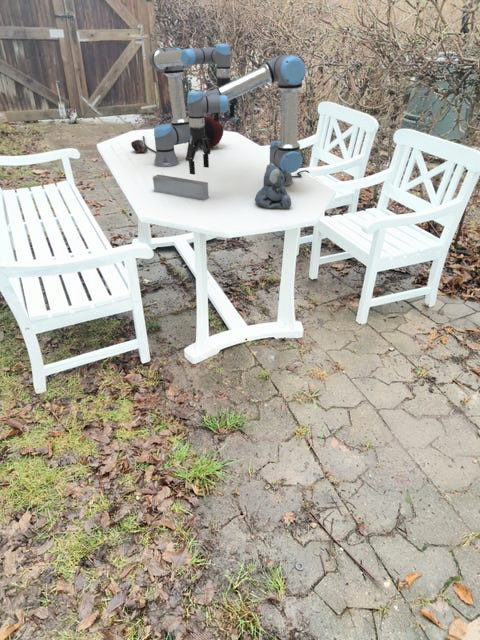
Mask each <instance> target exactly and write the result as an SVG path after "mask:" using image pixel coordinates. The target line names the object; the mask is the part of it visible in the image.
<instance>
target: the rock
mask: <svg viewBox="0 0 480 640" xmlns="http://www.w3.org/2000/svg"><path fill="white" fill-rule="evenodd" d="M130 146H131V148H132V149H133V150H134V152H135V153H146V152H148V150H149V149H148V148H147V147H146V146H145V145H144V142H143V139H134V140H133V141H131V143H130Z"/></svg>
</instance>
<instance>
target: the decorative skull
mask: <svg viewBox="0 0 480 640" xmlns="http://www.w3.org/2000/svg"><path fill="white" fill-rule="evenodd" d="M204 121H205V122H204V123H205V126H203V127H205V135H207V140H208V143H209V146H210V149H212V148H215V147H216V146H218V145H219V143H220V142H221V140H222V138H223V136H224V126H222V124H221V123H220V122H219V121H214V117H212V116H204ZM199 149H201V147H198V149H197V150H196V152H198V150H199Z"/></svg>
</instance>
